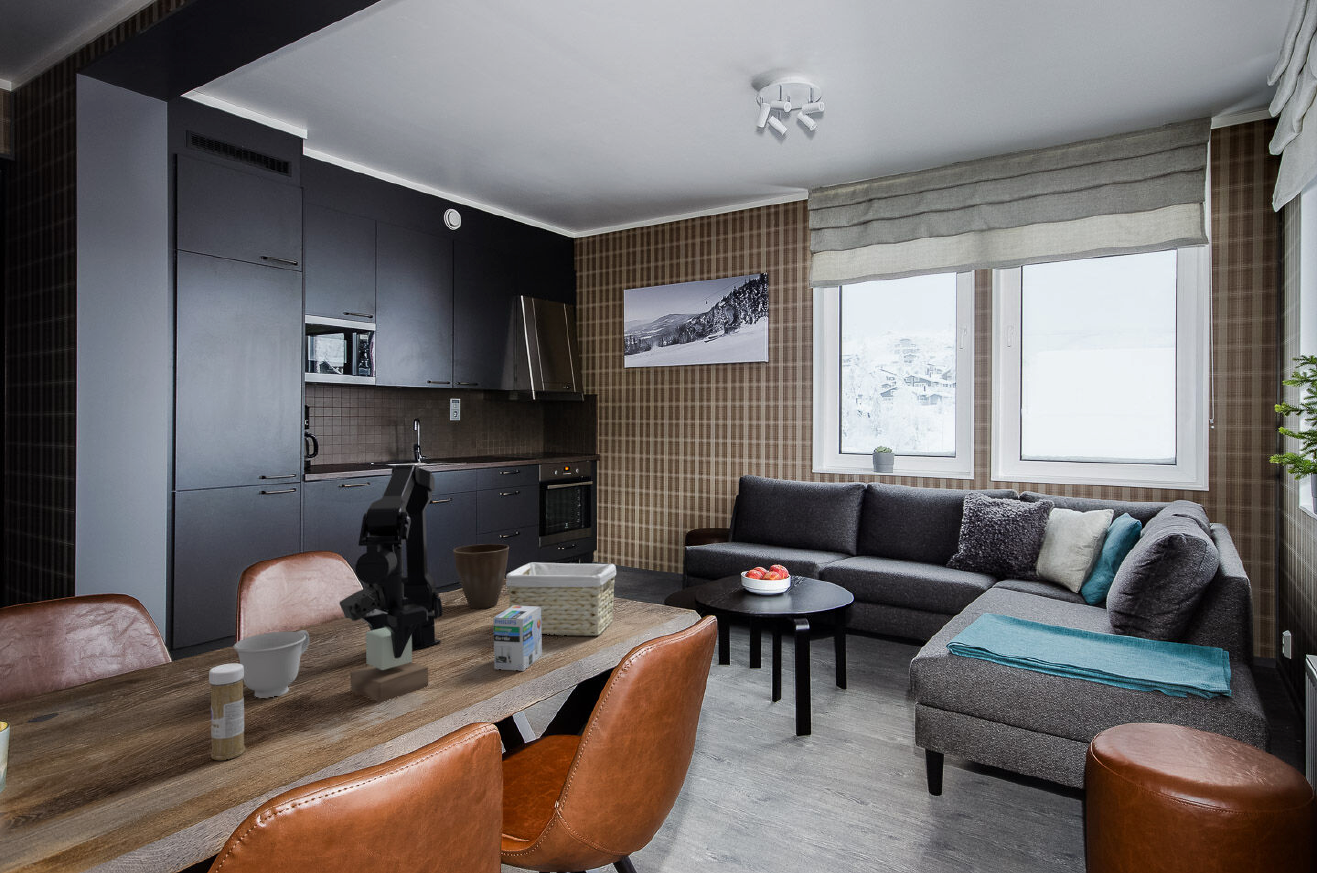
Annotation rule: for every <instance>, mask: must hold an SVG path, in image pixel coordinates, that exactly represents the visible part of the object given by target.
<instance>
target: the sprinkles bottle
mask: <svg viewBox="0 0 1317 873" xmlns="http://www.w3.org/2000/svg"><path fill="white" fill-rule="evenodd" d="M243 677H244V667H243V665H242V664H240V663H237V662H236V663H231V662H230V663H226V664H224V663H223V664H221V665H217V666H214V667H212V668H210V670H209V672H208V683H209V685H210V719H211V720H210V733H211V735H210V736H211V754H210V756H211V757H210V758H211V759H212V760H214V761H226V759H228V760H230V759H234V758H237V757H239V756H241V755H242V754H244V753H245V751H246V746H245V733H244V732H245V699H244V688H243V687H244V680H243Z"/></svg>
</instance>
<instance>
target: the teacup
mask: <svg viewBox="0 0 1317 873" xmlns="http://www.w3.org/2000/svg"><path fill="white" fill-rule="evenodd" d="M310 642H311V641H310V634H309V632H308V631H307V630H303V629H301V630H298V631H290V630H289V631H276V632H275V631H274V632H267V633H266V632H265V633H260V634H256V635H252V636H249V637H245V638H242V639H241V640H238V641H237V642H236V643H235V644H234V645H232V646H233V649H234V650H235V651H236V652H237V655H238V658H239V664H242V665H243V667H244V677H243V684H244V685H245V686H246V687H247V688H248V689H250V690H252V691H254V697H255V696H256V697H260V698H259V699H261V697H262V698H265V697H266V699H268V698H267V697H273V698H275V697H274V696H278V697H280V696H284V695H285V694H287V693H288V692H289V691H290V690H289V689H290V688H289V685H290V684H292V683H293V682H294V681H295V680H296V679H297V677H298V674H299V670H300V665H301V664H300V663H301V656H302V655H303V654H304V653H305V652H306V651H307V650H308V647H309V645H310ZM256 697H255V698H256Z"/></svg>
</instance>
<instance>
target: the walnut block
mask: <svg viewBox="0 0 1317 873" xmlns="http://www.w3.org/2000/svg"><path fill="white" fill-rule="evenodd" d="M427 686H428V687H429V667H428V666H424V665H421V664H420V663H419V664H418V663H415V662H413V661H412V662H410V663H406V664H403V665H399V666H395V667H392V668H388V669H385V670H381V669H378V668H376V667H374V666H371V665H369V666H365V667H362V668H360V669H356V670H353V671H350V692H351V691H352V693H354V694H357V695H359V696H362V697H364V696H366V697H365V698H367V697H369V698H368V699H370V698H371V699H370V700H372V699H373V700H372V701H375V700H376V701H375V702H377V701H378V703H380V702H382V703H384V701H385V702H387V700H388V701H390V700H389V699H391V700H393V699H396V698H398V697H397V696H399V697H401V696H405V695H407V694H410V693H414V692H416V690H417V691H419V690H422V689H425V688H428V687H427ZM424 687H425V688H424ZM413 691H414V692H413ZM395 697H396V698H395ZM392 698H393V699H392Z"/></svg>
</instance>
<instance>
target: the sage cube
mask: <svg viewBox="0 0 1317 873" xmlns="http://www.w3.org/2000/svg"><path fill="white" fill-rule="evenodd" d="M365 653H366V656H365V657H366V660H365V661H366V664H367V665H369V666H374V667H376V668H378V669H381V670H385V669H388V668H392V667H395V666H399V665H403V664H406V663H410V662H412V663H413V648H412V634H411V636H410V638H409V640H408V643H407V645H406V647H405V649H404V651H403V654H402V656H401V657H400V658H395V657H394V652H393V645H392V638H391V632H390V631H389V630H388V629H387V628H386V627H385V628H381V629H376V630H372V631H371V630H369V631H366V632H365Z"/></svg>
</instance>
